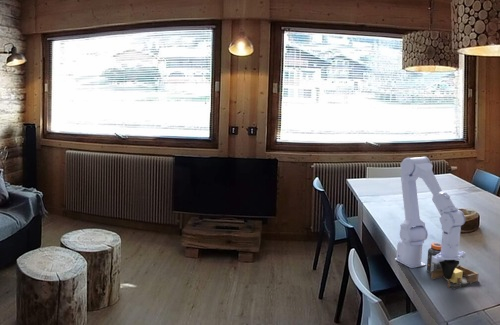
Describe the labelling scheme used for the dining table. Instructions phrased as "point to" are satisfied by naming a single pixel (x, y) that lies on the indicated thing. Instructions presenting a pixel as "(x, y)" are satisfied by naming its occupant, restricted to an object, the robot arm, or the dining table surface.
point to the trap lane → (467, 272)
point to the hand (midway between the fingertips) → (447, 278)
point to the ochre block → (456, 275)
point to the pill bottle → (432, 251)
